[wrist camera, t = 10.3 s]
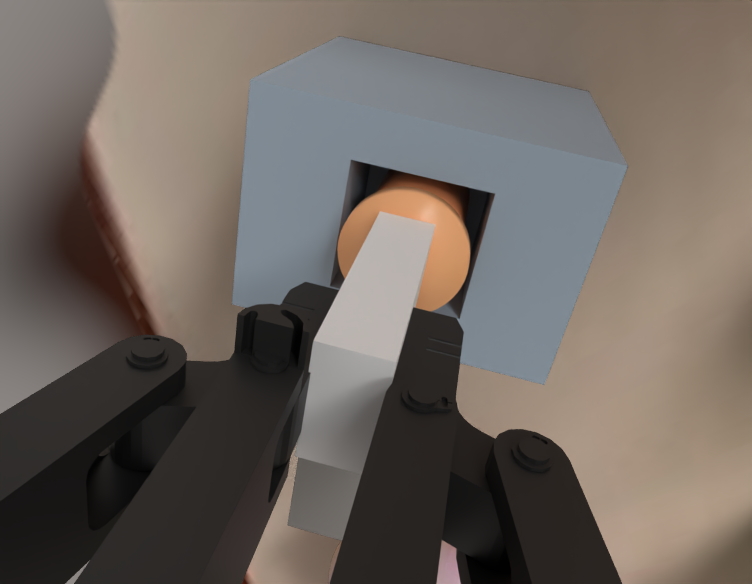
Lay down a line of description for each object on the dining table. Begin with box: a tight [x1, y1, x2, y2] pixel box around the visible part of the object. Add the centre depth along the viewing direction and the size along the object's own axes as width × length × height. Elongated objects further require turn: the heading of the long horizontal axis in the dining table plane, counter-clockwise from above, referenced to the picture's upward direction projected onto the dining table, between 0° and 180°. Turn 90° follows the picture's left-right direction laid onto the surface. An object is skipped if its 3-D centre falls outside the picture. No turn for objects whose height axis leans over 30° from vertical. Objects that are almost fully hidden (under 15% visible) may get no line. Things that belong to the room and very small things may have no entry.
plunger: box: [337, 169, 471, 311], centre depth 20 cm, size 4×4×5 cm
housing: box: [232, 36, 628, 385], centre depth 23 cm, size 7×10×10 cm
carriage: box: [288, 457, 362, 541], centre depth 25 cm, size 6×5×13 cm
